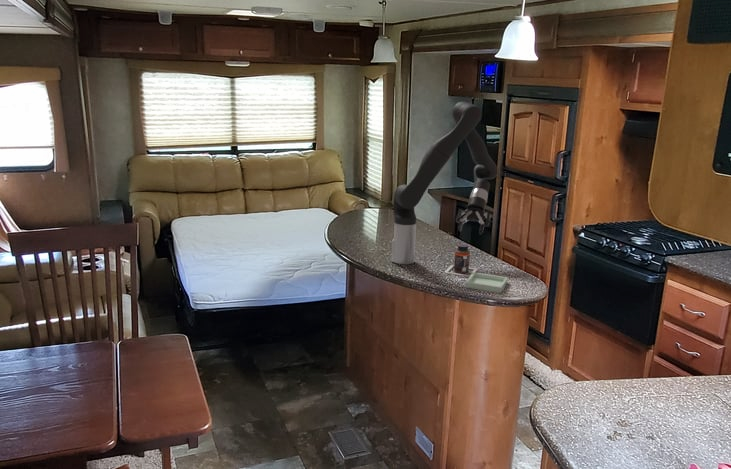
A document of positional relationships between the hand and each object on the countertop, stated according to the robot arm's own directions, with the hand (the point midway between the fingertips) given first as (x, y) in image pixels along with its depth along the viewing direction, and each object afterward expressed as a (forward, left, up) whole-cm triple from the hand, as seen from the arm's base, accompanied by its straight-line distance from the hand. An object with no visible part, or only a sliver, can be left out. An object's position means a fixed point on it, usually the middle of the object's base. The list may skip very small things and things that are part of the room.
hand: (469, 231), depth 242 cm
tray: (+13, -23, -15) cm, 30 cm away
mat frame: (0, -11, -15) cm, 18 cm away
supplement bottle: (0, -11, -15) cm, 18 cm away
